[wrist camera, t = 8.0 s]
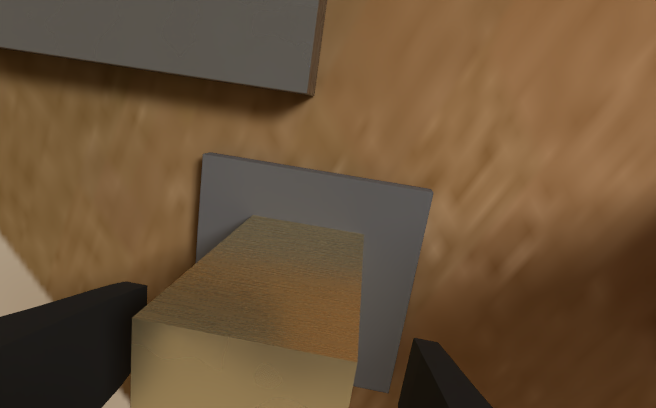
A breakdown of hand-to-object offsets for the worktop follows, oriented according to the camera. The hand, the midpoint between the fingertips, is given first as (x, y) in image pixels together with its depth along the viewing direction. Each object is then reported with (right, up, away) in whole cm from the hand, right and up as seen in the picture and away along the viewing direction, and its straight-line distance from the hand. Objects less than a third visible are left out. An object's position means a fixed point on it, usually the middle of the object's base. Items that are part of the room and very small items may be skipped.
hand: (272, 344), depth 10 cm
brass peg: (0, +1, +4) cm, 4 cm away
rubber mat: (+1, +1, +4) cm, 5 cm away
